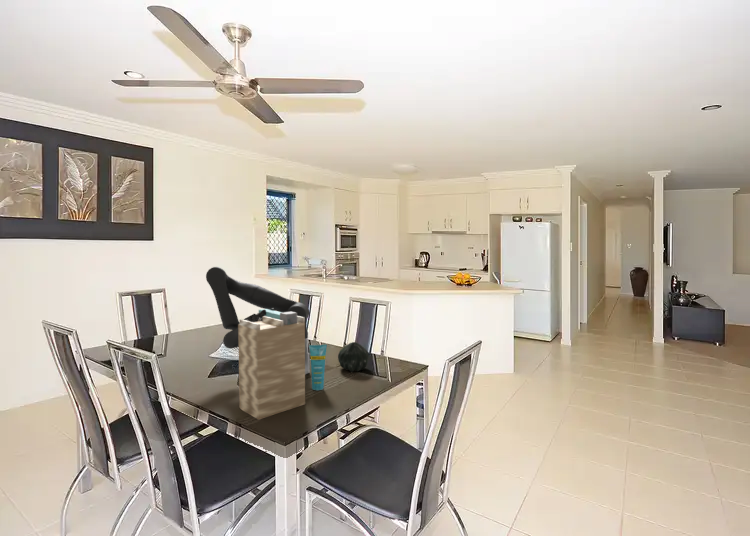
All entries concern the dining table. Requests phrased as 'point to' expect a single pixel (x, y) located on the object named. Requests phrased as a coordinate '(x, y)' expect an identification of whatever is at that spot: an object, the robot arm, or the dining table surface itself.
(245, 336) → the notched wooden tower
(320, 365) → the tube
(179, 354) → the dining table surface
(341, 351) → the squash
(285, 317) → the bar
